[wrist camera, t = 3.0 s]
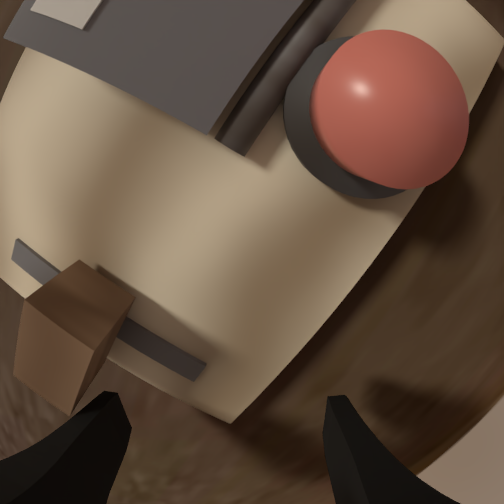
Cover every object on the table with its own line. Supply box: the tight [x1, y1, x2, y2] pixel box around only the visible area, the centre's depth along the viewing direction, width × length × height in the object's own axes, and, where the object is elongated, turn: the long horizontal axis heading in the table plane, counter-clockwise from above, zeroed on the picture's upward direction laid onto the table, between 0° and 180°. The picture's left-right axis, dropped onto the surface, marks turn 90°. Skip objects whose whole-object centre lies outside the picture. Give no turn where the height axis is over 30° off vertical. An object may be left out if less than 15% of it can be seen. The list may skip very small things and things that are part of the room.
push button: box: [309, 29, 469, 189], centre depth 7 cm, size 4×4×2 cm
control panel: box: [0, 0, 504, 424], centre depth 9 cm, size 15×20×2 cm
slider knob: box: [13, 259, 136, 416], centre depth 9 cm, size 2×4×3 cm, turn 147°
